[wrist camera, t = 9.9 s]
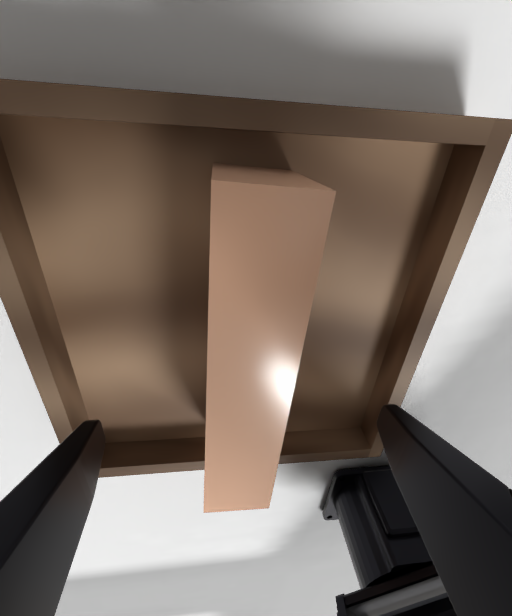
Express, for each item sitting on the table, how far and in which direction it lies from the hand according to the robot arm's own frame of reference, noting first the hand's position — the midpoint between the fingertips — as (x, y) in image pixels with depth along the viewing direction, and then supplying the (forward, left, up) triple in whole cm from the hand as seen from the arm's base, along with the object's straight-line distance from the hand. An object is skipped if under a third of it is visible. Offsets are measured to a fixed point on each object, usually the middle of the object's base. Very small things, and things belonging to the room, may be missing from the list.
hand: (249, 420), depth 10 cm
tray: (0, 0, -7) cm, 7 cm away
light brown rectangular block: (0, 0, -6) cm, 6 cm away
